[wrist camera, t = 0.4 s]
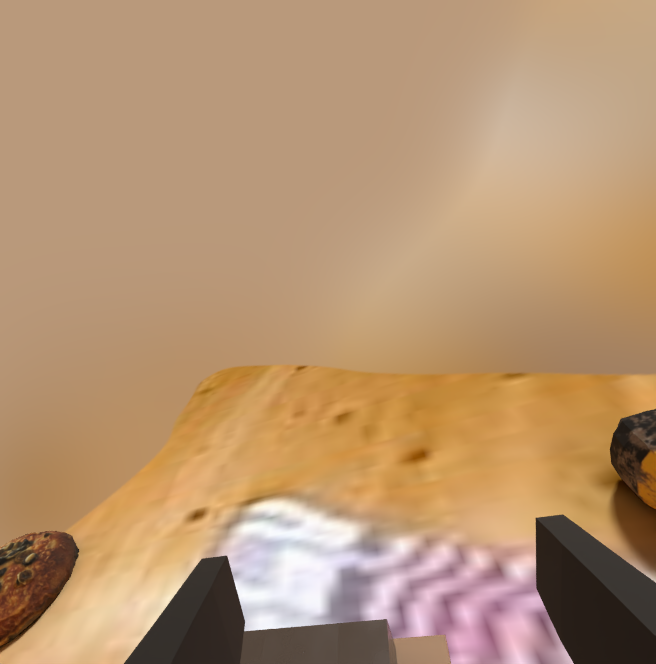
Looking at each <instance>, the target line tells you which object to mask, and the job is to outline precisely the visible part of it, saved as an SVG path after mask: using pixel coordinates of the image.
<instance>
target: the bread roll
mask: <svg viewBox="0 0 656 664" xmlns="http://www.w3.org/2000/svg"><path fill="white" fill-rule="evenodd" d="M78 552H79V549H78V548H77V546H76V543H75V542H74V540H73V537H72V536H71V535H69V534H67V533H64V532H57V531H45V532H38V533H30V534H26V535H23V536H21V537H18V538H16V539H14V540H12V541H10V542H8V543H6V544H4V545H2V546H1V547H0V646H2V645H3V644H5V643H8V642H10V641H11V640H13V639H14V638H15V637H16V636H18V635H19V634H20V633H21V632H22V631H23V630H24V629H25V628H27V627H28V626H29V625H30V624H31V623H32V622H33V621H35V620H36V619H37V618H38V617H39V616H40V614H41V613H42V612H43V611H45V610H46V609H47V607H48V606H49V605H50V604H51V603H52V602H53V601H54V600H55V598H56V597H57V594H58V593H60V592H61V590H62V589H63V587H64V585H65V584H66V582H67V581H68V580H69V577H71V574H72V571H73V568H74V566H75V562H76V559H77V558H78Z"/></svg>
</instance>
